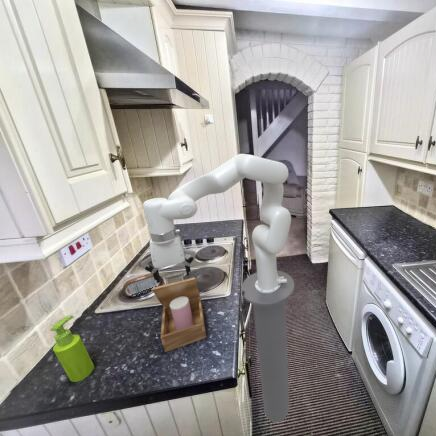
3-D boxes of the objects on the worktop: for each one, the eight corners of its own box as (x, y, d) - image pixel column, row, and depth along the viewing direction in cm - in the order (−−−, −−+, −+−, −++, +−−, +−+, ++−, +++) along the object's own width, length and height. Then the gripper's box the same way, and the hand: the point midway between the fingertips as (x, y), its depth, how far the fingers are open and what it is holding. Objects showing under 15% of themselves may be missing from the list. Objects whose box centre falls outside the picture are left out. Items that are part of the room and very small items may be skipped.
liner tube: (196, 320, 91) (190, 295, 86) (191, 333, 85) (185, 307, 80) (180, 321, 90) (173, 296, 86) (173, 334, 84) (166, 309, 80)
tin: (162, 284, 113) (158, 269, 110) (163, 287, 111) (159, 272, 108) (126, 296, 105) (120, 281, 102) (126, 300, 103) (120, 285, 100)
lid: (195, 279, 82) (193, 265, 85) (151, 289, 77) (151, 275, 80) (200, 296, 94) (198, 284, 97) (163, 307, 89) (162, 293, 92)
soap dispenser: (101, 360, 76) (79, 314, 69) (83, 382, 70) (57, 333, 62) (84, 360, 76) (61, 314, 69) (64, 381, 70) (36, 333, 62)
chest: (206, 337, 84) (203, 323, 81) (164, 352, 78) (160, 337, 76) (202, 309, 97) (200, 296, 94) (167, 320, 92) (163, 307, 89)
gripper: (190, 226, 83) (198, 266, 90) (135, 235, 77) (147, 277, 83) (191, 234, 77) (199, 276, 83) (131, 244, 70) (145, 290, 77)
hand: (173, 277), depth 83 cm, fingers open, 9 cm apart
